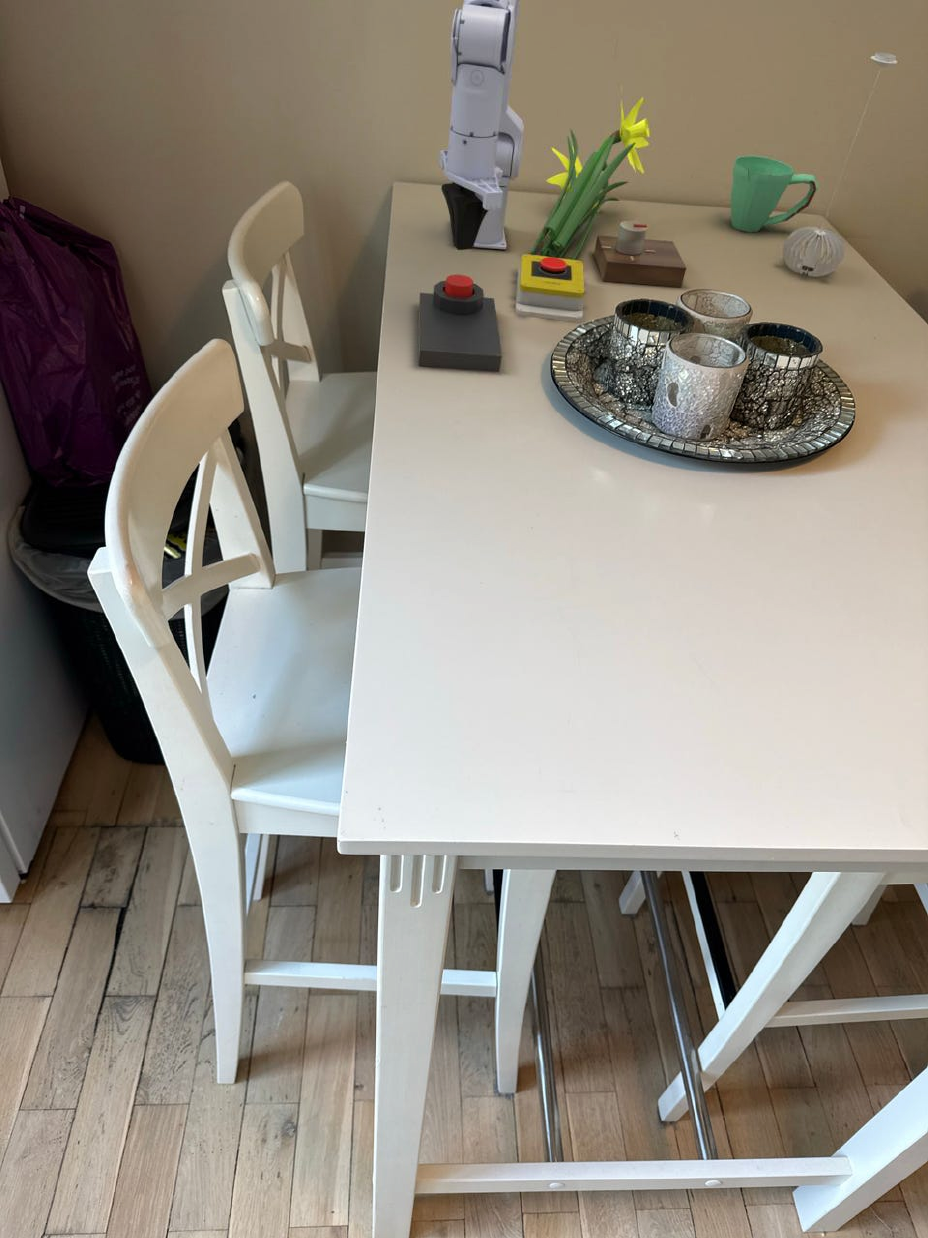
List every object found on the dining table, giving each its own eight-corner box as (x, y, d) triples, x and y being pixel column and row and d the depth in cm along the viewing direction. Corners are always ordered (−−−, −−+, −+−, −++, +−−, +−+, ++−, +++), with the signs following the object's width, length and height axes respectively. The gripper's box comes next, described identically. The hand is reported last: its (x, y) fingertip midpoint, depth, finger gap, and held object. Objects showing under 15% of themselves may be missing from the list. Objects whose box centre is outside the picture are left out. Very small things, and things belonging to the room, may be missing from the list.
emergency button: (585, 248, 128) (588, 291, 118) (579, 277, 131) (582, 323, 121) (521, 240, 128) (519, 283, 117) (517, 270, 131) (515, 314, 120)
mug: (720, 233, 150) (738, 170, 143) (714, 212, 157) (731, 152, 150) (805, 244, 150) (828, 182, 143) (796, 223, 157) (817, 163, 150)
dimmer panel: (593, 254, 138) (597, 233, 136) (667, 260, 140) (673, 240, 137) (602, 281, 131) (606, 260, 129) (681, 287, 132) (686, 266, 130)
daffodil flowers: (481, 250, 137) (557, 133, 154) (552, 312, 141) (619, 191, 158) (541, 176, 123) (618, 56, 140) (618, 247, 127) (684, 121, 144)
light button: (444, 286, 117) (445, 273, 115) (471, 288, 117) (472, 275, 116) (445, 298, 114) (446, 284, 113) (472, 300, 114) (474, 287, 113)
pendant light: (828, 262, 145) (910, 51, 125) (840, 285, 139) (928, 67, 118) (773, 255, 145) (844, 42, 125) (782, 278, 139) (859, 57, 118)
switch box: (418, 305, 120) (420, 276, 117) (491, 310, 121) (495, 282, 118) (418, 366, 108) (420, 335, 105) (499, 371, 109) (503, 341, 106)
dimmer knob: (617, 253, 132) (622, 227, 129) (613, 243, 134) (618, 217, 132) (643, 255, 132) (649, 229, 129) (638, 245, 135) (644, 219, 132)
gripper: (532, 149, 99) (515, 268, 109) (480, 109, 108) (469, 223, 118) (475, 151, 97) (463, 273, 106) (427, 110, 106) (420, 226, 115)
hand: (463, 247), depth 112 cm, fingers closed
